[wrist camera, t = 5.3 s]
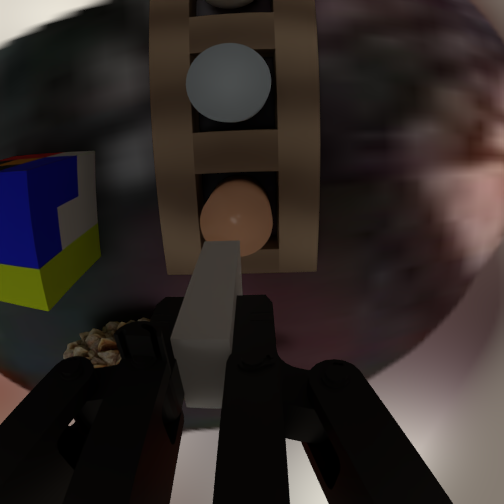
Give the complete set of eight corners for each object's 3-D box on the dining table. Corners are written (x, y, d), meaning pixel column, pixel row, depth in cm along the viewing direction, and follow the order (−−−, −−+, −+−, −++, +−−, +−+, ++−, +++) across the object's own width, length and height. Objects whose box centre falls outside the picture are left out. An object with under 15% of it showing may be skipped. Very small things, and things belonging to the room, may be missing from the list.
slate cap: (199, 61, 20) (184, 46, 15) (266, 58, 20) (269, 41, 15) (201, 124, 22) (187, 125, 17) (268, 121, 22) (272, 120, 17)
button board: (162, -41, 18) (153, -56, 15) (302, -50, 18) (307, -65, 15) (175, 259, 29) (167, 274, 26) (310, 256, 29) (316, 271, 26)
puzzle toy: (95, 150, 25) (26, 170, 16) (101, 255, 29) (48, 311, 20) (15, 156, 25) (-55, 177, 16) (25, 248, 29) (-33, 292, 19)
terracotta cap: (208, 176, 25) (197, 189, 21) (269, 174, 25) (272, 186, 20) (212, 233, 27) (203, 257, 22) (269, 231, 27) (272, 256, 22)
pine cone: (104, 369, 35) (75, 430, 25) (75, 302, 31) (29, 359, 22) (290, 363, 33) (299, 437, 24) (284, 285, 30) (295, 357, 21)
